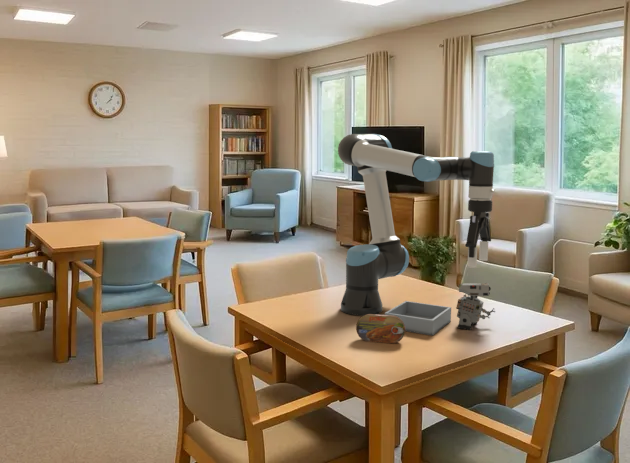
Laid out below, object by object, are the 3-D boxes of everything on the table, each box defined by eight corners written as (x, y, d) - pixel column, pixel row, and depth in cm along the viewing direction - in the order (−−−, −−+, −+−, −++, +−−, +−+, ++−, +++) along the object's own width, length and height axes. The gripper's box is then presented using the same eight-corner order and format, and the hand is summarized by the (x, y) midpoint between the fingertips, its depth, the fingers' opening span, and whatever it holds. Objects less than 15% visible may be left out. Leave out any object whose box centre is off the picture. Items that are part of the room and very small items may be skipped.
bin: (384, 327, 208) (384, 312, 208) (405, 314, 224) (405, 300, 224) (432, 335, 200) (433, 320, 200) (450, 321, 216) (451, 307, 216)
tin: (355, 340, 195) (356, 314, 194) (357, 337, 198) (357, 311, 197) (404, 344, 191) (405, 318, 190) (405, 341, 194) (406, 315, 193)
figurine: (488, 333, 203) (490, 288, 201) (453, 328, 209) (455, 283, 207) (494, 326, 211) (496, 282, 209) (460, 321, 217) (462, 278, 215)
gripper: (481, 202, 191) (478, 271, 194) (501, 197, 213) (498, 258, 216) (457, 201, 195) (455, 269, 198) (479, 196, 216) (476, 256, 219)
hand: (477, 263), depth 207 cm, fingers open, 13 cm apart
